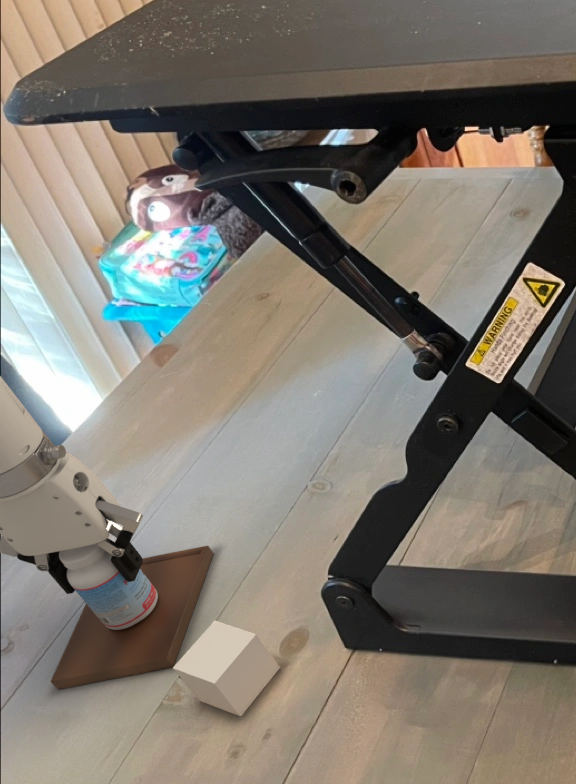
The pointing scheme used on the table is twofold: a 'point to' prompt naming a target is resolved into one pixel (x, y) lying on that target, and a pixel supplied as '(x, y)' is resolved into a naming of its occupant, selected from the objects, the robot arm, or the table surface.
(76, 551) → the pill bottle
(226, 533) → the table surface
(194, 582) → the serving tray
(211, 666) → the white cube
